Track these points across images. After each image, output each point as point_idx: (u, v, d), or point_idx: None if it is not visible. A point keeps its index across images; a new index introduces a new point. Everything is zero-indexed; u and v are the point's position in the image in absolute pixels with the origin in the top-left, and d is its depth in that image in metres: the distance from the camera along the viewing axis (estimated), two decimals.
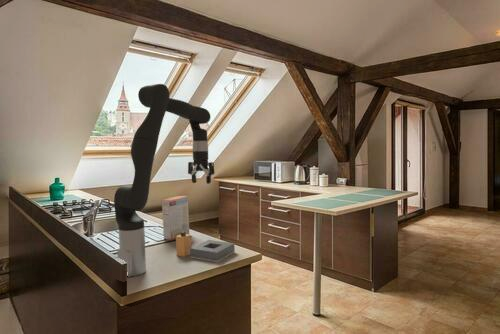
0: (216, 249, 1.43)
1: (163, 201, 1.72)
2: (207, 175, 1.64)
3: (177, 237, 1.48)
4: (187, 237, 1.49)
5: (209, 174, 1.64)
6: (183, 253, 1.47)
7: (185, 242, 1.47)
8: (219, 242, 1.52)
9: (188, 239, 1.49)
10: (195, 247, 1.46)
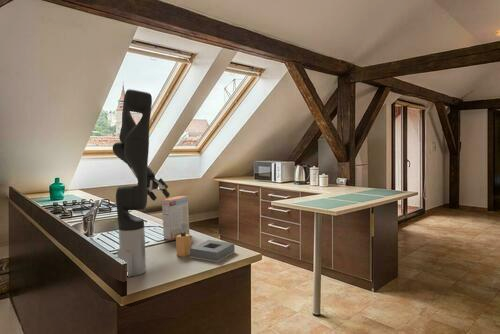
0: (216, 249, 1.43)
1: (163, 201, 1.72)
2: (165, 188, 1.60)
3: (177, 237, 1.48)
4: (187, 237, 1.49)
5: None
6: (183, 253, 1.47)
7: (185, 242, 1.47)
8: (219, 242, 1.52)
9: (188, 239, 1.49)
10: (195, 247, 1.46)
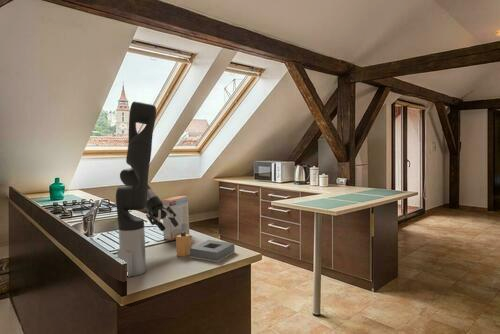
0: (216, 249, 1.43)
1: (163, 201, 1.72)
2: (173, 217, 1.57)
3: (177, 237, 1.48)
4: (187, 237, 1.49)
5: (173, 216, 1.58)
6: (183, 253, 1.47)
7: (185, 242, 1.47)
8: (219, 242, 1.52)
9: (188, 239, 1.49)
10: (195, 247, 1.46)
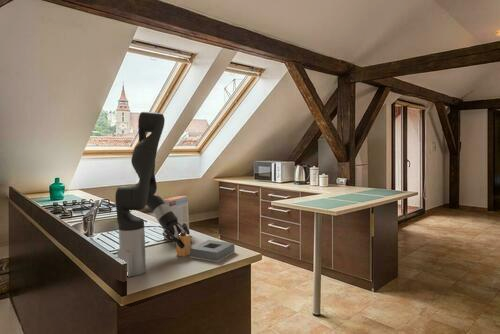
0: (216, 249, 1.43)
1: None
2: None
3: None
4: (187, 237, 1.49)
5: None
6: (183, 253, 1.47)
7: (185, 242, 1.47)
8: (219, 242, 1.52)
9: (188, 239, 1.49)
10: (195, 247, 1.46)
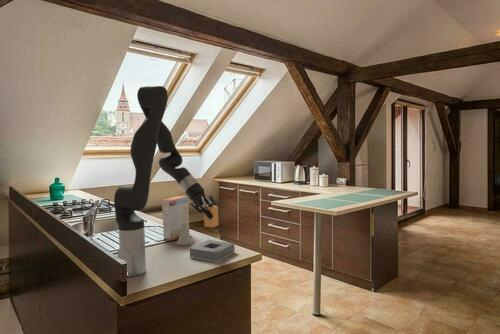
0: (216, 249, 1.43)
1: (163, 201, 1.72)
2: None
3: None
4: (215, 208, 1.47)
5: None
6: (211, 224, 1.45)
7: (213, 213, 1.45)
8: (219, 242, 1.52)
9: (216, 210, 1.47)
10: (195, 247, 1.46)
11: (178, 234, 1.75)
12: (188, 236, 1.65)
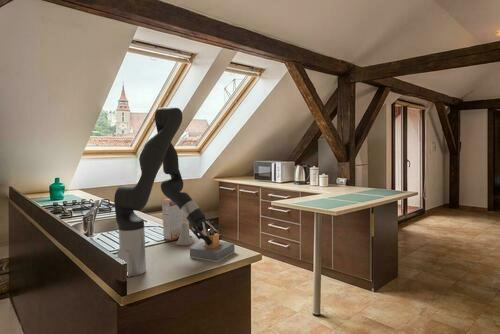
0: (216, 249, 1.43)
1: (163, 201, 1.72)
2: (216, 230, 1.52)
3: None
4: (216, 236, 1.47)
5: None
6: None
7: (214, 241, 1.46)
8: (219, 242, 1.52)
9: (217, 238, 1.48)
10: (195, 247, 1.46)
11: (178, 234, 1.75)
12: (188, 236, 1.65)
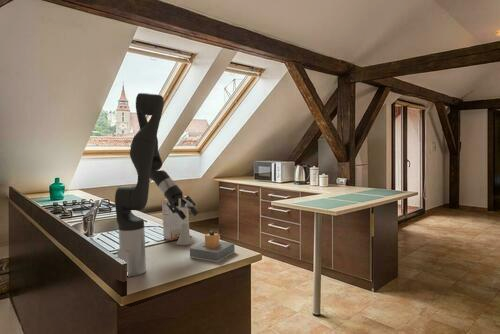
0: (216, 249, 1.43)
1: (163, 201, 1.72)
2: (193, 206, 1.58)
3: (206, 236, 1.47)
4: (216, 236, 1.47)
5: None
6: None
7: (214, 241, 1.46)
8: (219, 242, 1.52)
9: (217, 238, 1.48)
10: (195, 247, 1.46)
11: (178, 234, 1.75)
12: (188, 236, 1.65)
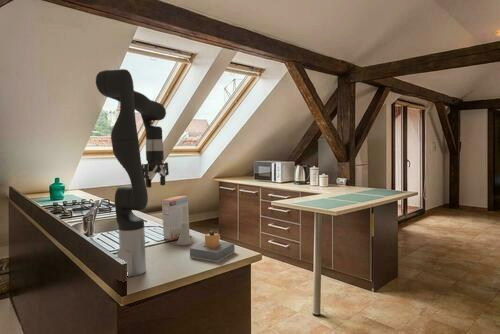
0: (216, 249, 1.43)
1: (163, 201, 1.72)
2: (165, 176, 1.54)
3: (206, 236, 1.47)
4: (216, 236, 1.47)
5: None
6: None
7: (214, 241, 1.46)
8: (219, 242, 1.52)
9: (217, 238, 1.48)
10: (195, 247, 1.46)
11: (178, 234, 1.75)
12: (188, 236, 1.65)
